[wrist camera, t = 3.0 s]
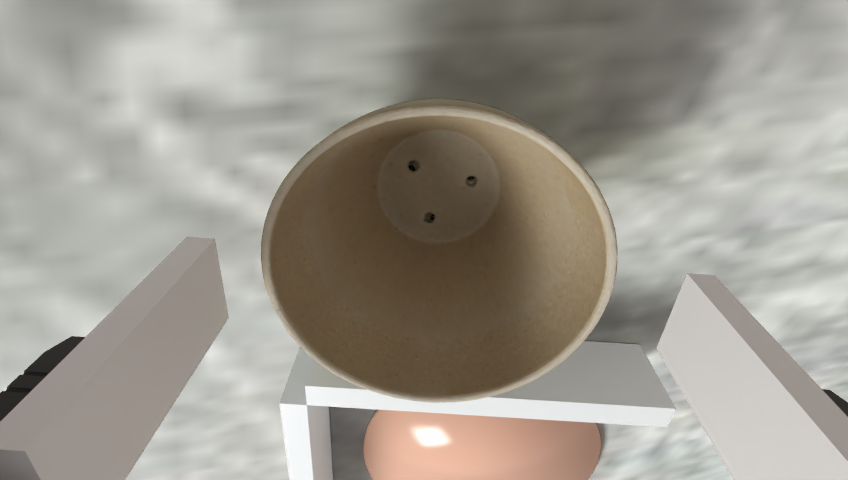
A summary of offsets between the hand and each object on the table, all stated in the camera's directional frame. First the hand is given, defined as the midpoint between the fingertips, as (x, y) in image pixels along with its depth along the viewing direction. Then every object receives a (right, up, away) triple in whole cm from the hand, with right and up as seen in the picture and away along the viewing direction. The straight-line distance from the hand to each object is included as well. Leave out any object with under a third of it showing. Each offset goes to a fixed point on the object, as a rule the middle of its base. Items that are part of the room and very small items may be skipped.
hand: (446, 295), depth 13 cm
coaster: (+3, -11, +15) cm, 19 cm away
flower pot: (0, +4, +6) cm, 7 cm away
